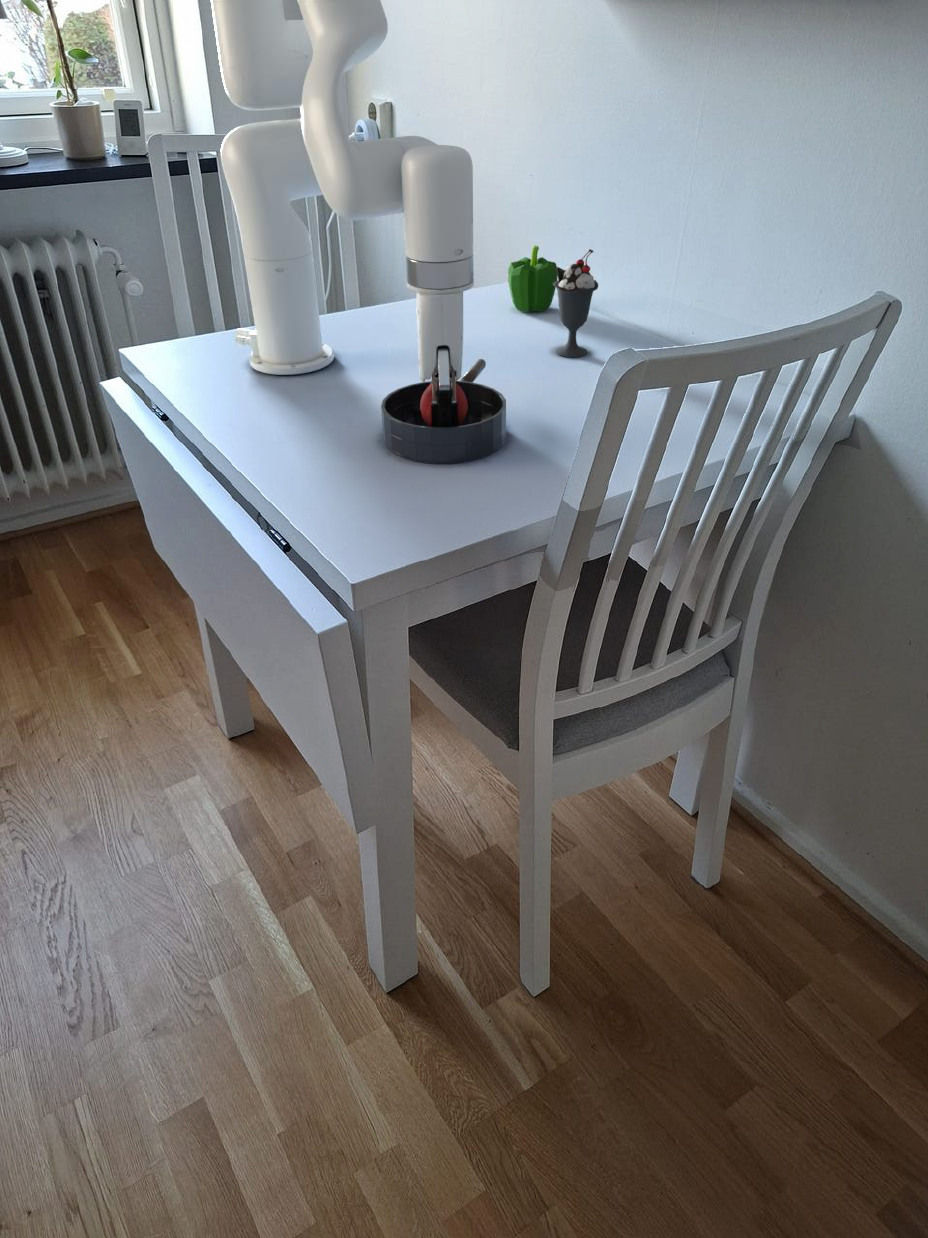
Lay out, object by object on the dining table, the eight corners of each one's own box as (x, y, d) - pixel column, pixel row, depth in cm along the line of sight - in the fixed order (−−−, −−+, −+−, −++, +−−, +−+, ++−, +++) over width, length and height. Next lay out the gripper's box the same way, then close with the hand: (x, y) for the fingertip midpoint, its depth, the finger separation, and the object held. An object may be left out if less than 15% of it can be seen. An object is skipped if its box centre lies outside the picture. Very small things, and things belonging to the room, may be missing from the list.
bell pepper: (541, 319, 147) (544, 256, 141) (500, 311, 150) (500, 250, 144) (564, 306, 152) (568, 245, 146) (524, 299, 156) (525, 240, 150)
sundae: (600, 356, 131) (609, 251, 123) (559, 361, 130) (564, 255, 121) (583, 342, 136) (590, 241, 128) (543, 347, 135) (547, 245, 126)
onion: (462, 446, 105) (461, 382, 101) (416, 442, 106) (413, 379, 102) (471, 427, 110) (471, 365, 105) (427, 423, 111) (425, 362, 106)
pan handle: (467, 392, 112) (466, 382, 111) (456, 391, 112) (456, 381, 112) (487, 367, 119) (487, 357, 119) (477, 367, 120) (477, 357, 119)
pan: (365, 455, 104) (362, 420, 102) (408, 408, 116) (407, 375, 114) (486, 470, 101) (486, 434, 98) (518, 420, 112) (519, 386, 110)
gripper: (406, 253, 104) (414, 398, 114) (405, 294, 90) (414, 454, 100) (469, 252, 104) (470, 396, 114) (478, 292, 90) (478, 452, 101)
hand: (444, 422), depth 107 cm, fingers closed on onion, 6 cm apart
